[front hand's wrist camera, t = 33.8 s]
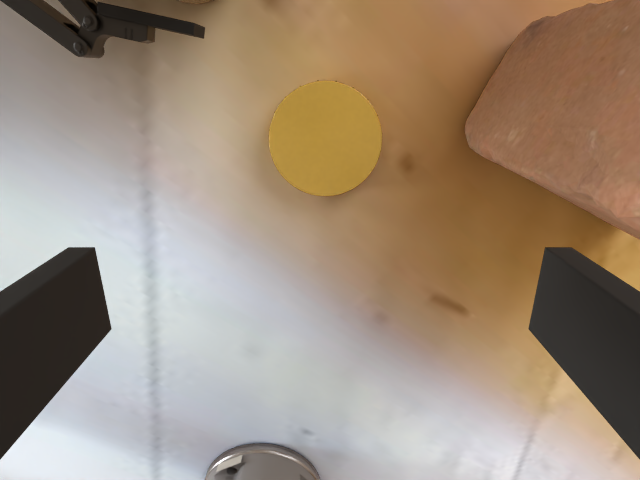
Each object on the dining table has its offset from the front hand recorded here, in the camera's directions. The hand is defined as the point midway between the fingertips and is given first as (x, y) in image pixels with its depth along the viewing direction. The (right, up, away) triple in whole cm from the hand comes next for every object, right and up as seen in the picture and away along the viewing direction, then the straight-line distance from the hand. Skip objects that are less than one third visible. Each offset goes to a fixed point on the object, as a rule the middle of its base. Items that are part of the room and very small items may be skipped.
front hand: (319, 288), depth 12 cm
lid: (0, +10, +25) cm, 27 cm away
